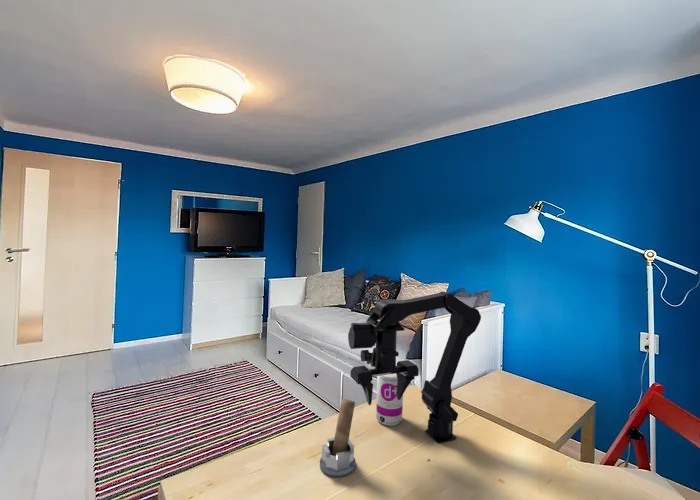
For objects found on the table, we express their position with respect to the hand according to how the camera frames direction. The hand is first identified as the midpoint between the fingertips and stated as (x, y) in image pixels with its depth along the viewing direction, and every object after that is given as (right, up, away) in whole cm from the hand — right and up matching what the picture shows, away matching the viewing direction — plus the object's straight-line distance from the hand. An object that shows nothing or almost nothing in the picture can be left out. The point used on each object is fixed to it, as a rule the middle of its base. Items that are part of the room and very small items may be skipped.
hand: (384, 401), depth 96 cm
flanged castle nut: (-13, -12, -9) cm, 20 cm away
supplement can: (+3, -12, +14) cm, 18 cm away
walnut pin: (-13, -11, -9) cm, 19 cm away
